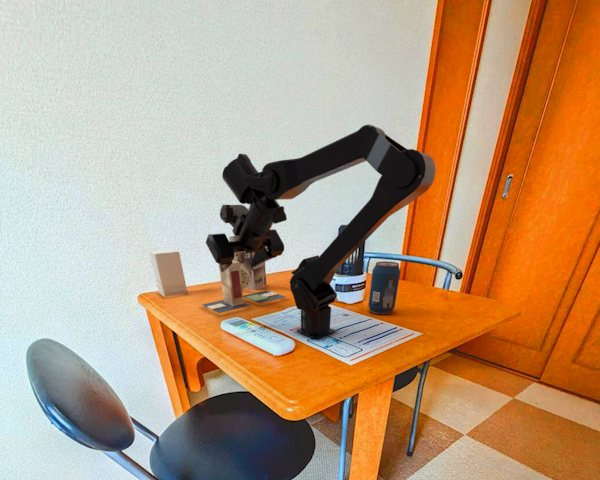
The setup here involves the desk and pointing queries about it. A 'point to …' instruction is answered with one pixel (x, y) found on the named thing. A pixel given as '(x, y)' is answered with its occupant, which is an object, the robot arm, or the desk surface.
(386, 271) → the soda can
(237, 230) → the robot arm
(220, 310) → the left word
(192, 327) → the desk surface
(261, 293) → the grey flat square block
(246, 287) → the coffee box
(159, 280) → the white packaging box
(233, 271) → the beige and red box
